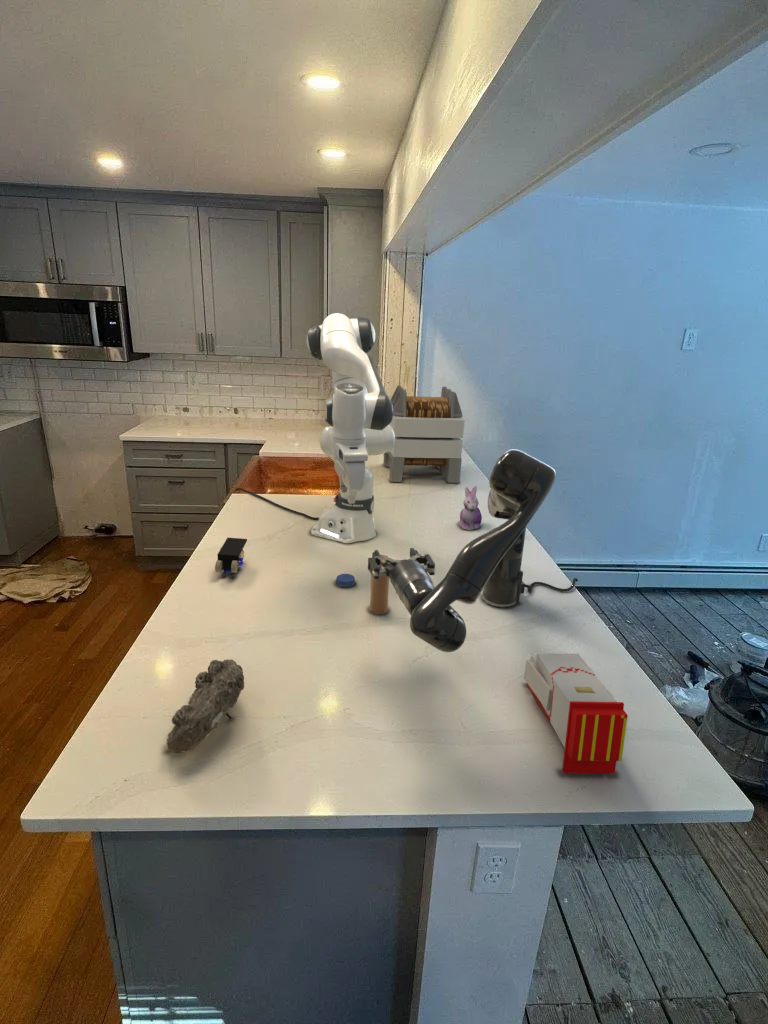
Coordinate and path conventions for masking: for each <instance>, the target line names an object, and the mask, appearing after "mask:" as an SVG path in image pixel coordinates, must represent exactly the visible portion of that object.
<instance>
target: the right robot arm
mask: <svg viewBox="0 0 768 1024" xmlns="http://www.w3.org/2000/svg"><path fill="white" fill-rule="evenodd" d="M556 477H557V472H556V470H555V469H554V468H553V467H552V466H550V465H548V464H546V463H545V462H543V461H541V460H539V459H538V458H535V457H534V456H531V455H529V454H528V453H526V452H525V451H523V450H520V449H515V448H513V449H508V450H506V451H505V452H504V453H503V454H502V455H501V456H500V457H499V458H498V459H497V461H496V463H495V464H494V466H493V467H492V470H491V473H490V476H489V488H490V490H489V493H488V497H487V510H488V513H489V515H490V517H492V518H494V519H495V518H496V519H501V520H506V521H505V522H504V523H502V524H500V525H499V526H496V527H494V528H493V529H491V530H489V531H487V532H486V533H483V534H482V535H479V536H478V537H476V538H474V539H472V540H471V541H470V542H469V543H467V544H466V545H465V546H464V547H463V548H462V549H461V550H460V551H459V553H458V554H457V556H456V557H455V558H454V561H453V562H452V564H451V566H450V568H449V569H448V570H447V573H446V575H445V576H444V577H443V578H442V580H441V581H440V582H439V583H437V585H436V586H435V584H434V582H433V579H432V578H431V577H430V576H435V573H436V563H435V562H434V560H433V558H432V556H431V554H429V553H427V554H424V555H422V554H421V553H419V552H418V550H417V549H415V548H414V547H410V548H409V557H410V558H406V559H394V558H391V557H389V556H388V557H386V558H383V557H381V555H382V554H381V553H380V551H379V550H378V549H374V550H373V551H372V552H371V553H372V554H371V557H368V558H367V571H369V573H370V576H371V575H372V576H373V578H374V579H379V576H380V575H386V576H387V577H389V578H390V579H389V582H390V583H391V585H392V587H393V589H394V590H395V593H396V595H397V596H398V598H399V600H400V602H402V604H403V605H404V607H405V608H406V610H407V612H408V614H409V615H410V617H409V629H410V631H411V632H412V634H413V635H414V636H415V637H417V638H419V639H420V640H423V641H424V643H427V644H429V646H432V647H433V648H435V649H436V650H438V651H440V652H443V653H453V652H455V651H458V650H459V649H460V648H462V646H463V645H464V644H465V641H466V638H467V626H466V623H465V620H464V619H463V617H462V616H461V615H460V614H459V613H458V612H457V611H456V610H455V609H454V608H453V607H452V605H451V604H453V603H454V602H456V601H457V602H460V603H463V604H466V605H473V604H474V603H475V602H476V601H477V600H478V599H479V597H480V596H481V595H482V596H481V599H482V601H484V603H486V604H488V605H489V606H492V607H497V608H511V607H513V606H516V604H520V600H521V595H524V594H525V590H526V589H525V588H527V592H529V593H532V591H533V587H534V586H536V585H539V586H545V587H548V588H550V589H552V590H555V591H558V592H569V591H571V590H573V589H574V587H575V586H576V582H579V579H578V578H577V577H574V578H573V579H572V582H571V585H570V587H567V588H560V587H557V586H554V585H551V584H549V583H546V582H543V581H533V582H532V583H530V585H529V584H526V583H525V582H524V581H523V576H524V571H523V570H522V561H523V555H524V554H523V552H524V547H525V539H526V532H527V526H528V525H529V523H530V522H531V520H532V519H533V517H534V516H535V515H536V513H537V512H538V511H539V509H540V507H541V506H542V504H543V503H544V501H545V500H546V498H547V497H548V495H549V493H550V491H551V490H552V488H553V485H555V484H554V483H555V481H556ZM381 562H382V565H381ZM388 563H390V564H389V565H388ZM572 585H573V586H572Z"/></svg>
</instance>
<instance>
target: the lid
mask: <svg viewBox="0 0 768 1024" xmlns="http://www.w3.org/2000/svg"><path fill="white" fill-rule="evenodd" d="M355 578H356V577H355V576H354V575H353V574H350V573H340V574H339V575H337V576H336V577H335V584H336V586H338V587H340V588H351V587H353V586H354V585H355V584H356V579H355Z"/></svg>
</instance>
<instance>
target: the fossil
mask: <svg viewBox="0 0 768 1024" xmlns="http://www.w3.org/2000/svg"><path fill="white" fill-rule="evenodd" d="M243 670H244V669H243V667H242V665H240V664H237V662H236V661H235V660H234V659H232V658H231V659H227V658H226V659H224V660H223V661H222V660H217V659H212V660H211V661H210V663H209V665H208V666H207V671H201V672H199V673H198V674H197V675H196V676H195V680H194V684H195V685H194V687H195V689H194V690H193V693H192V694H191V697H190V698H189V700H188V704H184V705H182V706H181V707H180V709H177V710H176V711H175V713H174V715H173V716H172V718H171V723H172V724H173V727H172V730H171V731H170V732H168V734H167V738H166V741H167V742H166V745H167V749H168V750H169V751H173V752H174V753H176V754H178V753H182V752H188V751H189V752H192V751H193V750H195V748H196V747H197V746H199V744H200V743H201V742H203V741H204V740H205V739H206V738H207V737H208V736H209V735H210V734H211V733H212V732H214V730H215V729H217V727H218V726H219V724H220V722H221V721H222V720H223V719H224V718H225V716H226V717H227V719H229V720H233V717H232V715H230V714H229V710H230V709H231V708H234V706H235V704H236V703H237V702H238V699H239V697H240V695H241V693H242V691H243V690H245V689H244V688H245V675H244V671H243Z"/></svg>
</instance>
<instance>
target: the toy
mask: <svg viewBox="0 0 768 1024" xmlns="http://www.w3.org/2000/svg"><path fill="white" fill-rule="evenodd" d="M523 679H524V681H525V682H526V686H527V688H528V689H529V691H530V693H531V694H532V695H533V697H534V699H535V701H536V702H537V704H538V705H539V706H540V708H541V710H542V711H543V713H544V715H545V717H546V718H547V719H548V721H550V722H549V723H550V725H551V727H552V728H553V730H554V732H555V733H556V735H557V737H558V739H559V741H560V743H561V744H562V745H563V748H564V750H563V751H564V752H563V761H562V769H561V771H562V774H595V775H596V774H597V775H598V774H599V775H600V774H601V775H606V774H607V775H608V774H609V775H615V774H616V770H617V762H622V760H623V755H624V754H623V753H624V746H625V738H626V732H627V725H628V723H627V722H628V713H627V712H626V711H625V710H624V708H625V703H624V702H623V701H617V700H616V698H614V696H613V695H612V694H611V693H610V691H609V690H608V689H607V687H606V686H605V685H604V683H602V681H601V679H599V678H598V676H597V675H596V674H595V672H594V671H593V670H592V669H591V668H590V666H589V665H588V664H587V663H586V661H585V660H584V659H583V658H582V657H581V655H580V654H579V653H552V652H551V653H546V652H537V653H530V654H529V659H528V658H527V659H526V661H525V668H524V674H523Z"/></svg>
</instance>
